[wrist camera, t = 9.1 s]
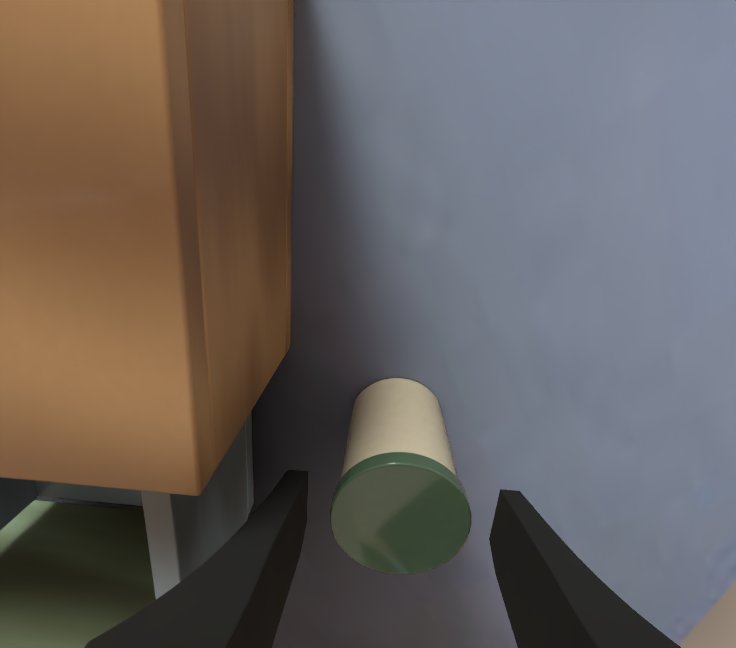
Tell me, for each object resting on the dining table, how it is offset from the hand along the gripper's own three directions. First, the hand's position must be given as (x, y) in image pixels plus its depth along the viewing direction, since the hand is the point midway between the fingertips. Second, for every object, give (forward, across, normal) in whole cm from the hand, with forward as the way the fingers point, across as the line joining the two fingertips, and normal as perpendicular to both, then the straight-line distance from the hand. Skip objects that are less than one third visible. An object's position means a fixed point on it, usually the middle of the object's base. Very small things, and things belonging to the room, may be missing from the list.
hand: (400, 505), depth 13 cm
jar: (+5, 0, 0) cm, 5 cm away
